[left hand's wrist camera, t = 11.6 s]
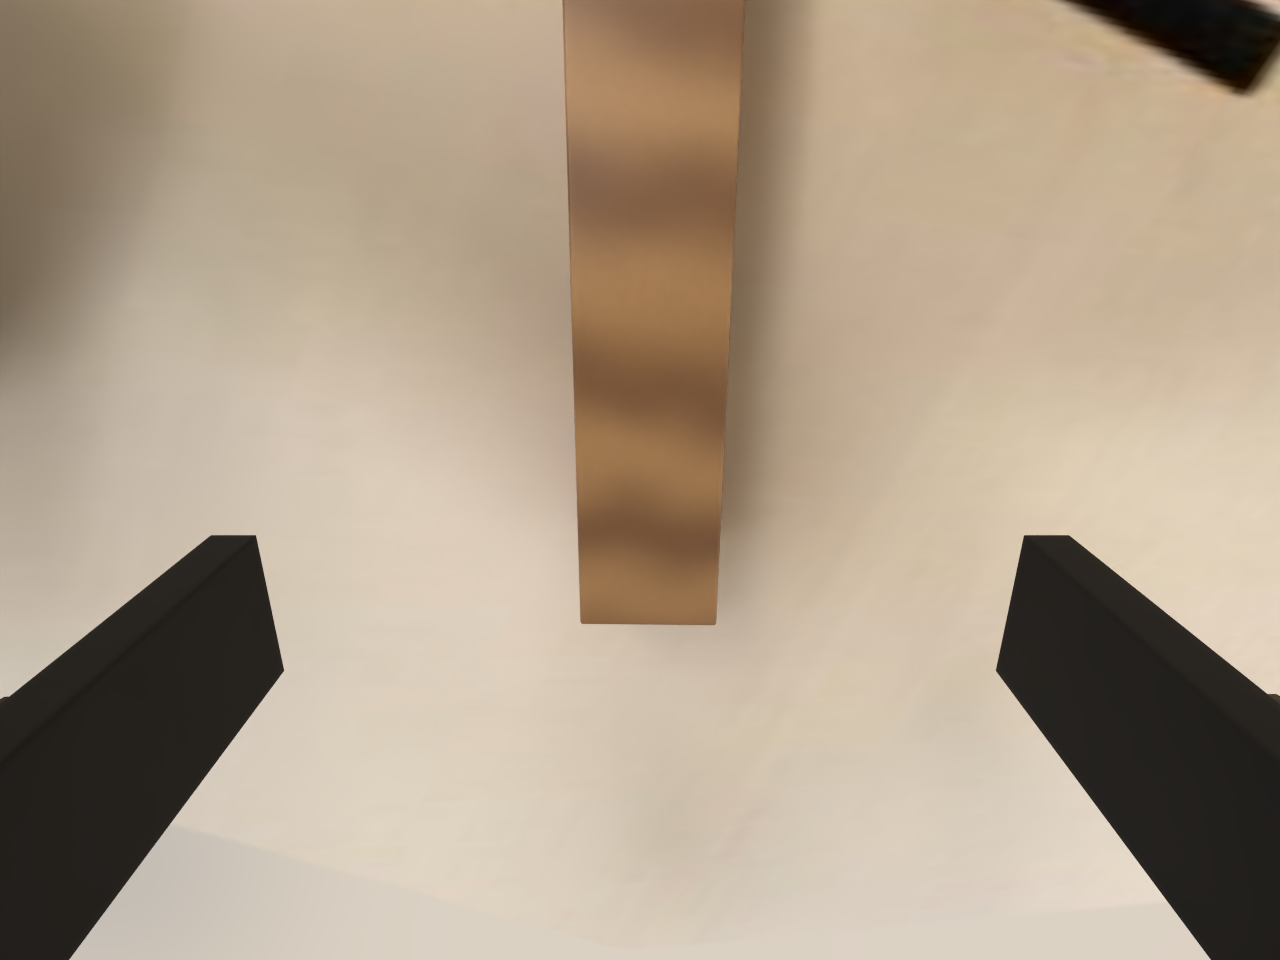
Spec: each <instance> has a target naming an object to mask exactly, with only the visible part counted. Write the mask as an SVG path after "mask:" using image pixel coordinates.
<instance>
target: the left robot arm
mask: <svg viewBox="0 0 1280 960" xmlns="http://www.w3.org/2000/svg"><path fill="white" fill-rule="evenodd" d="M283 671H284V668H283V663H282V659H281V654H280V649H279V644H278V639H277V635H276V630H275V625H274V620H273V615H272V611H271V606H270V601H269V596H268V591H267V587H266V582H265V577H264V572H263V567H262V563H261V558H260V553H259V548H258V543H257V539H256V535H211V536H210V537H208V538H207V539H206V540H205V541H203V542H202V543H201V544H200V545H198V546H197V547H196V548H195V549H193V550H192V551H191V552H190V553H188V554H187V555H186V556H185V557H183V558H182V559H181V560H180V561H178V562H177V563H176V564H175V565H173V566H172V567H171V568H170V569H168V570H167V571H166V572H165V573H163V574H162V575H161V576H160V577H158V578H157V579H156V580H155V581H153V582H152V583H151V584H150V585H148V586H147V587H146V588H145V589H143V590H142V591H141V592H140V593H138V594H137V595H136V596H135V597H133V598H132V599H131V600H130V601H128V602H127V603H126V604H125V605H123V606H122V607H121V608H120V609H118V610H117V611H116V612H115V613H113V614H112V615H111V616H110V617H108V618H107V619H106V620H105V621H103V622H102V623H101V624H100V625H98V626H97V627H96V628H95V629H93V630H92V631H91V632H90V633H88V634H87V635H86V636H85V637H83V638H82V639H81V640H80V641H78V642H77V643H76V644H75V645H73V646H72V647H71V648H70V649H68V650H67V651H66V652H65V653H63V654H62V655H61V656H60V657H58V658H57V659H56V660H55V661H53V662H52V663H51V664H50V665H48V666H47V667H46V668H45V669H43V670H42V671H41V672H40V673H38V674H37V675H36V676H35V677H33V678H32V679H31V680H30V681H28V682H27V683H26V684H25V685H23V686H22V687H21V688H20V689H18V690H17V691H16V692H15V693H13V694H12V695H11V696H10V697H3V698H2V699H0V960H69V959H70V958H71V956H72V955H73V954H74V952H75V951H76V950H77V948H78V947H79V946H80V944H81V943H82V942H83V940H84V939H85V938H86V936H87V935H88V934H89V932H90V931H91V929H92V928H93V927H94V925H95V924H96V923H97V921H98V920H99V919H100V917H101V916H102V915H103V913H104V912H105V911H106V909H107V908H108V907H109V905H110V904H111V903H112V901H113V900H114V899H115V897H116V896H117V894H118V893H119V892H120V891H121V889H122V888H123V886H124V885H125V884H126V882H127V881H128V880H129V878H130V877H131V876H132V874H133V873H134V872H135V870H136V869H137V868H138V866H139V865H140V864H141V862H142V861H143V860H144V858H145V857H146V856H147V854H148V853H149V851H150V850H151V849H152V847H153V846H154V845H155V843H156V842H157V841H158V839H159V838H160V837H161V835H162V834H163V833H164V831H165V830H166V829H167V827H168V826H169V825H170V823H171V822H172V821H173V819H174V818H175V817H176V815H177V814H178V813H179V811H180V810H181V809H182V807H183V806H184V804H185V803H186V802H187V800H188V799H189V798H190V796H191V795H192V794H193V792H194V791H195V790H196V788H197V787H198V786H199V784H200V783H201V782H202V780H203V779H204V778H205V776H206V775H207V774H208V772H209V771H210V770H211V768H212V767H213V766H214V764H215V763H216V761H217V760H218V759H219V757H220V756H221V755H222V753H223V752H224V751H225V749H226V748H227V747H228V745H229V744H230V743H231V741H232V740H233V739H234V737H235V736H236V735H237V733H238V732H239V731H240V729H241V728H242V727H243V725H244V724H245V723H246V721H247V720H248V718H249V717H250V716H251V714H252V713H253V712H254V710H255V709H256V708H257V706H258V705H259V704H260V702H261V701H262V700H263V698H264V697H265V696H266V694H267V693H268V692H269V690H270V689H271V688H272V686H273V685H274V684H275V682H276V681H277V679H278V678H279V677H280V675H281V674H282V673H283ZM996 671H997V673H998V674H999V675H1000V677H1001V678H1002V680H1003V681H1004V682H1005V684H1006V685H1007V686H1008V688H1009V689H1010V690H1011V692H1012V693H1013V694H1014V696H1015V697H1016V698H1017V700H1018V701H1019V702H1020V704H1021V705H1022V706H1023V708H1024V709H1025V710H1026V712H1027V713H1028V714H1029V716H1030V717H1031V718H1032V720H1033V721H1034V723H1035V724H1036V725H1037V727H1038V728H1039V729H1040V731H1041V732H1042V733H1043V735H1044V736H1045V737H1046V739H1047V740H1048V741H1049V743H1050V744H1051V745H1052V747H1053V748H1054V749H1055V751H1056V752H1057V753H1058V755H1059V756H1060V757H1061V759H1062V760H1063V761H1064V763H1065V764H1066V766H1067V767H1068V768H1069V770H1070V771H1071V772H1072V774H1073V775H1074V776H1075V778H1076V779H1077V780H1078V782H1079V783H1080V784H1081V786H1082V787H1083V788H1084V790H1085V791H1086V792H1087V794H1088V795H1089V796H1090V798H1091V799H1092V800H1093V802H1094V803H1095V805H1096V806H1097V807H1098V809H1099V810H1100V811H1101V813H1102V814H1103V815H1104V817H1105V818H1106V819H1107V821H1108V822H1109V823H1110V825H1111V826H1112V827H1113V829H1114V830H1115V831H1116V833H1117V834H1118V835H1119V837H1120V838H1121V839H1122V841H1123V842H1124V843H1125V845H1126V846H1127V848H1128V849H1129V850H1130V852H1131V853H1132V854H1133V856H1134V857H1135V858H1136V860H1137V861H1138V862H1139V864H1140V865H1141V866H1142V868H1143V869H1144V870H1145V872H1146V873H1147V874H1148V876H1149V877H1150V878H1151V880H1152V881H1153V882H1154V884H1155V885H1156V886H1157V888H1158V889H1159V891H1160V892H1161V893H1162V895H1163V896H1164V897H1165V899H1166V900H1167V901H1168V903H1169V904H1170V905H1171V907H1172V908H1173V909H1174V911H1175V912H1176V913H1177V915H1178V916H1179V917H1180V919H1181V920H1182V921H1183V923H1184V924H1185V925H1186V927H1187V928H1188V930H1189V931H1190V932H1191V934H1192V935H1193V936H1194V938H1195V939H1196V940H1197V942H1198V943H1199V944H1200V946H1201V947H1202V948H1203V950H1204V951H1205V952H1206V954H1207V955H1208V956H1209V958H1210V959H1211V960H1280V696H1279V695H1277V694H1267V693H1265V692H1264V691H1263V690H1262V689H1260V688H1259V687H1258V686H1257V685H1255V684H1254V683H1253V682H1252V681H1250V680H1249V679H1248V678H1247V677H1245V676H1244V675H1243V674H1242V673H1240V672H1239V671H1238V670H1237V669H1235V668H1234V667H1233V666H1232V665H1230V664H1229V663H1228V662H1227V661H1225V660H1224V659H1223V658H1222V657H1220V656H1219V655H1218V654H1217V653H1215V652H1214V651H1213V650H1212V649H1210V648H1209V647H1208V646H1207V645H1205V644H1204V643H1203V642H1202V641H1200V640H1199V639H1198V638H1197V637H1195V636H1194V635H1193V634H1192V633H1190V632H1189V631H1188V630H1187V629H1185V628H1184V627H1183V626H1182V625H1180V624H1179V623H1178V622H1177V621H1175V620H1174V619H1173V618H1172V617H1170V616H1169V615H1168V614H1167V613H1165V612H1164V611H1163V610H1162V609H1160V608H1159V607H1158V606H1157V605H1155V604H1154V603H1153V602H1152V601H1150V600H1149V599H1148V598H1147V597H1145V596H1144V595H1143V594H1142V593H1140V592H1139V591H1138V590H1137V589H1135V588H1134V587H1133V586H1132V585H1130V584H1129V583H1128V582H1127V581H1125V580H1124V579H1123V578H1122V577H1120V576H1119V575H1118V574H1117V573H1115V572H1114V571H1113V570H1112V569H1110V568H1109V567H1108V566H1107V565H1105V564H1104V563H1103V562H1102V561H1100V560H1099V559H1098V558H1097V557H1095V556H1094V555H1093V554H1092V553H1090V552H1089V551H1088V550H1087V549H1085V548H1084V547H1083V546H1082V545H1080V544H1079V543H1078V542H1077V541H1075V540H1074V539H1073V538H1072V537H1070V536H1069V535H1024V539H1023V543H1022V548H1021V553H1020V558H1019V563H1018V567H1017V572H1016V577H1015V582H1014V587H1013V591H1012V596H1011V601H1010V606H1009V611H1008V615H1007V620H1006V625H1005V630H1004V635H1003V639H1002V644H1001V649H1000V654H999V659H998V663H997V668H996Z"/></svg>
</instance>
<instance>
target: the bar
mask: <svg viewBox="0 0 1280 960" xmlns="http://www.w3.org/2000/svg"><path fill="white" fill-rule="evenodd" d="M744 14H745V0H563V33H564V67H565V102H566V137H567V171H568V206H569V240H570V275H571V310H572V344H573V379H574V413H575V448H576V483H577V517H578V552H579V587H580V621H581V623H582V624H662V625H715V624H716V614H717V593H718V571H719V550H720V529H721V507H722V486H723V464H724V443H725V421H726V400H727V378H728V357H729V336H730V314H731V293H732V271H733V250H734V228H735V207H736V186H737V164H738V143H739V121H740V100H741V78H742V57H743V36H744Z"/></svg>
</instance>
